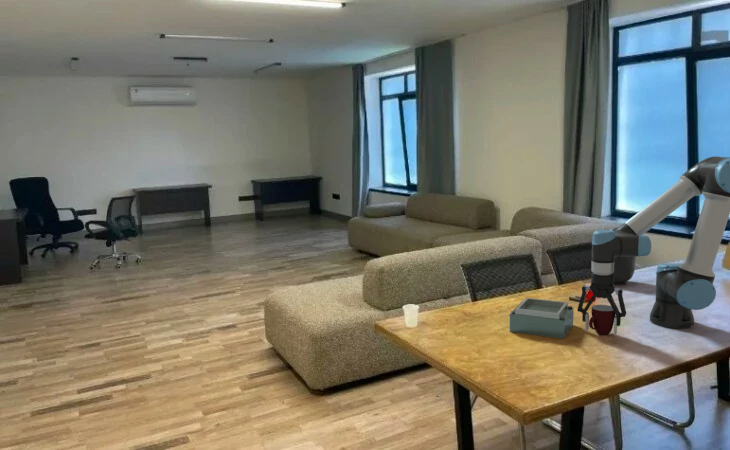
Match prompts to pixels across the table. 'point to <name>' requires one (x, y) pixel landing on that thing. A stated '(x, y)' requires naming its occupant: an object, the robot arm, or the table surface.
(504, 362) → the table surface
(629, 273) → the planter
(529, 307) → the grey rectangular container
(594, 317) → the mug
